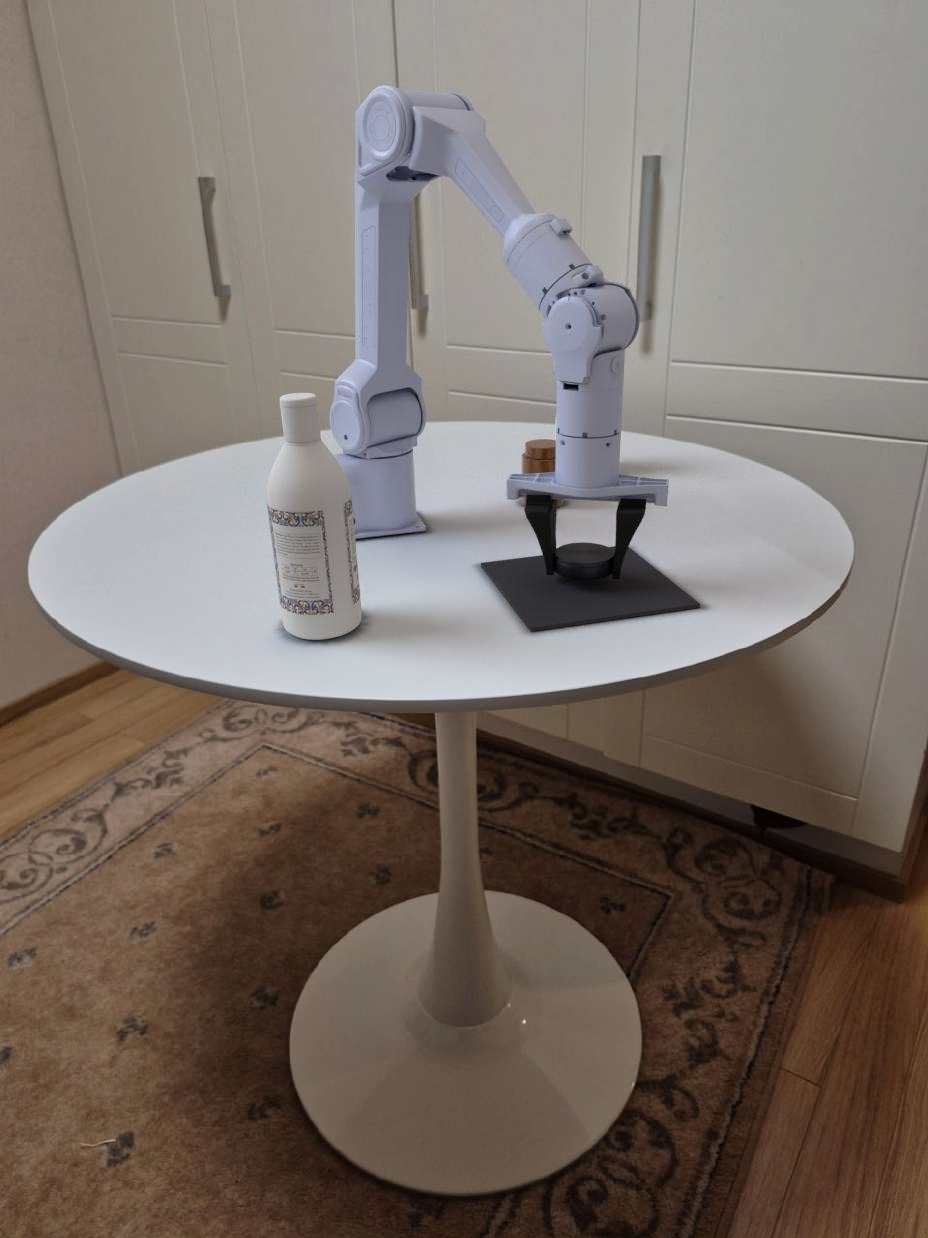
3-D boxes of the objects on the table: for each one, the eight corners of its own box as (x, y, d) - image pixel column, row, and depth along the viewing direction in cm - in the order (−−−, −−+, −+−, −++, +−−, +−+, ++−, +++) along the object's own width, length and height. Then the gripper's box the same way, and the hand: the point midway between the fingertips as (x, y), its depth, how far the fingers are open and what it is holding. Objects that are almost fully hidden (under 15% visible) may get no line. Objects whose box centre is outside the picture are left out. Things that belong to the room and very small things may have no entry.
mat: (530, 631, 74) (530, 627, 73) (480, 566, 88) (480, 562, 87) (699, 607, 77) (700, 603, 77) (625, 548, 91) (625, 544, 91)
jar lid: (611, 582, 78) (611, 565, 78) (549, 578, 80) (550, 561, 79) (616, 560, 83) (616, 543, 83) (558, 557, 85) (558, 540, 84)
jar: (529, 511, 103) (530, 450, 100) (516, 498, 108) (515, 440, 105) (570, 506, 105) (571, 446, 101) (554, 494, 109) (555, 436, 106)
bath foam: (332, 602, 80) (310, 384, 72) (378, 623, 76) (359, 394, 67) (268, 625, 76) (236, 397, 68) (312, 650, 72) (284, 408, 63)
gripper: (673, 422, 78) (662, 562, 84) (515, 419, 81) (516, 554, 87) (671, 441, 72) (660, 590, 77) (501, 436, 75) (502, 580, 81)
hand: (583, 573), depth 82 cm, fingers closed on jar lid, 5 cm apart
